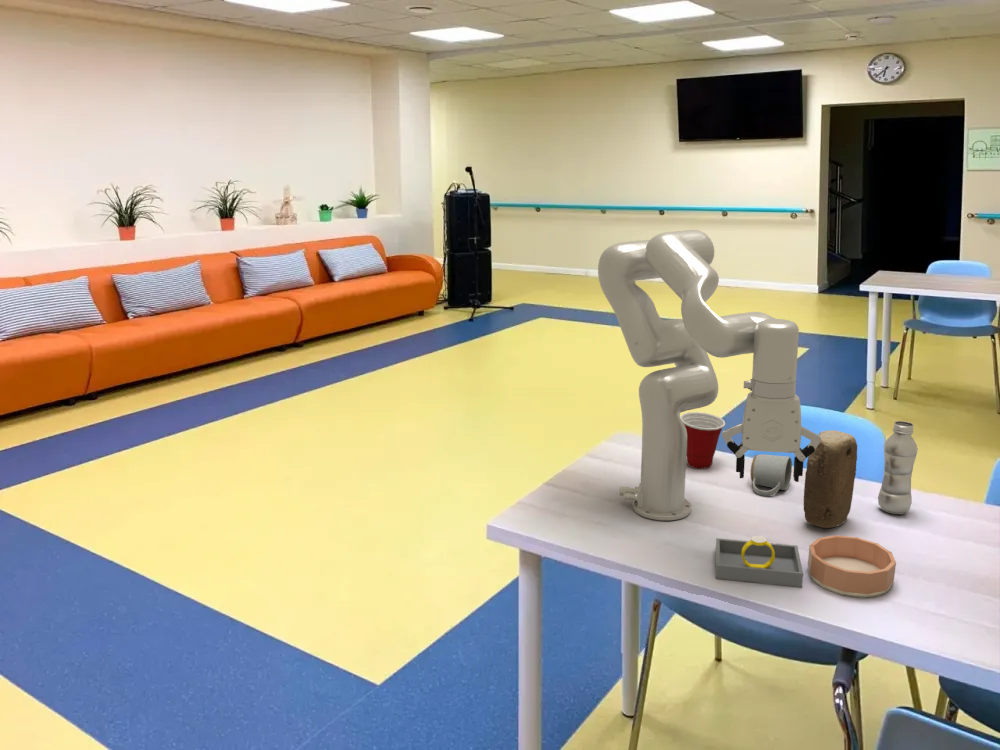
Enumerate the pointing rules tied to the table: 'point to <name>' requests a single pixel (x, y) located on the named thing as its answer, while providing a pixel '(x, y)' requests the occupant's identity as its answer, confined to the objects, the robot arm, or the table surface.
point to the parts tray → (779, 573)
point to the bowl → (851, 566)
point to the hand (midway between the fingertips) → (768, 477)
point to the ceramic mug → (771, 473)
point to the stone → (830, 479)
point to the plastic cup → (701, 437)
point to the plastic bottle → (898, 469)
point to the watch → (759, 542)
